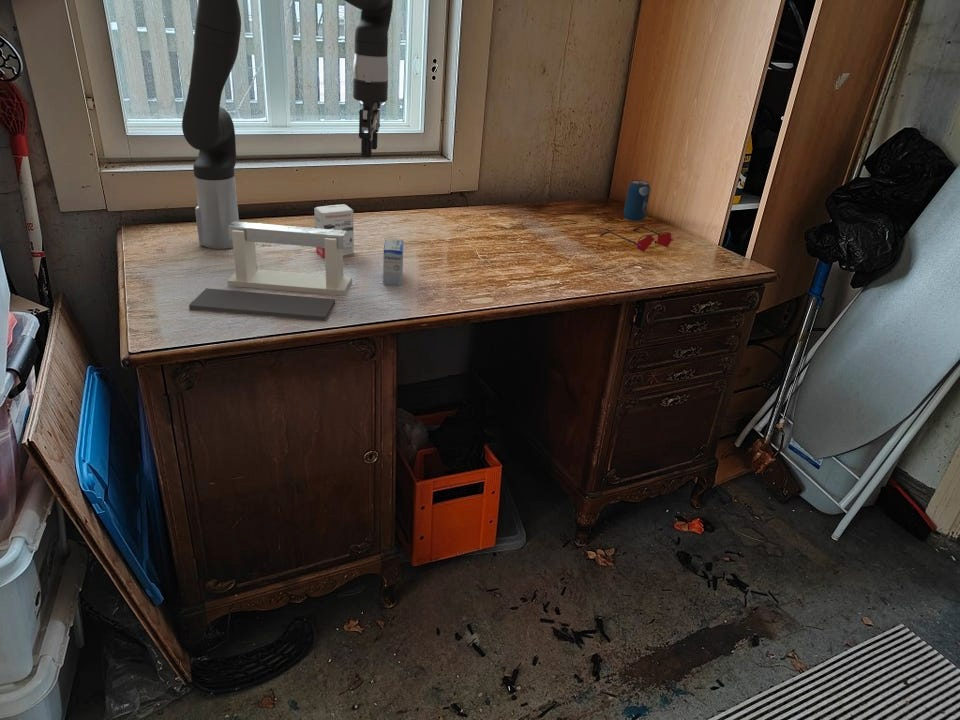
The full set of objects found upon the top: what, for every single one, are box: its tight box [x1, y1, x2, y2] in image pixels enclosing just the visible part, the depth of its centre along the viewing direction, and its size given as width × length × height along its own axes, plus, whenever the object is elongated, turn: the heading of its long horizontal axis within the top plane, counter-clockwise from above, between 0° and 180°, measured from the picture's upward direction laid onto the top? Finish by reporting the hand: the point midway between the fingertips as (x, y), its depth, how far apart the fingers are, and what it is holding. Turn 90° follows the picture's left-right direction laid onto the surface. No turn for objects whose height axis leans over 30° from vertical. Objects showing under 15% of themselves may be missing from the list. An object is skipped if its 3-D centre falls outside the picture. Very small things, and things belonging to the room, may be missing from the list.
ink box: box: [313, 203, 355, 259], centre depth 173 cm, size 8×5×12 cm, turn 123°
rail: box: [228, 221, 347, 249], centre depth 151 cm, size 25×4×3 cm, turn 88°
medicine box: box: [382, 238, 404, 286], centre depth 161 cm, size 8×4×9 cm, turn 5°
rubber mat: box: [188, 287, 336, 322], centre depth 144 cm, size 28×9×1 cm, turn 88°
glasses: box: [599, 226, 674, 252], centre depth 202 cm, size 14×16×5 cm
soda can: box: [623, 179, 651, 223], centre depth 220 cm, size 7×7×12 cm
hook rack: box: [227, 221, 353, 296], centre depth 153 cm, size 26×8×12 cm, turn 88°
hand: (369, 152), depth 158 cm, fingers open, 8 cm apart
